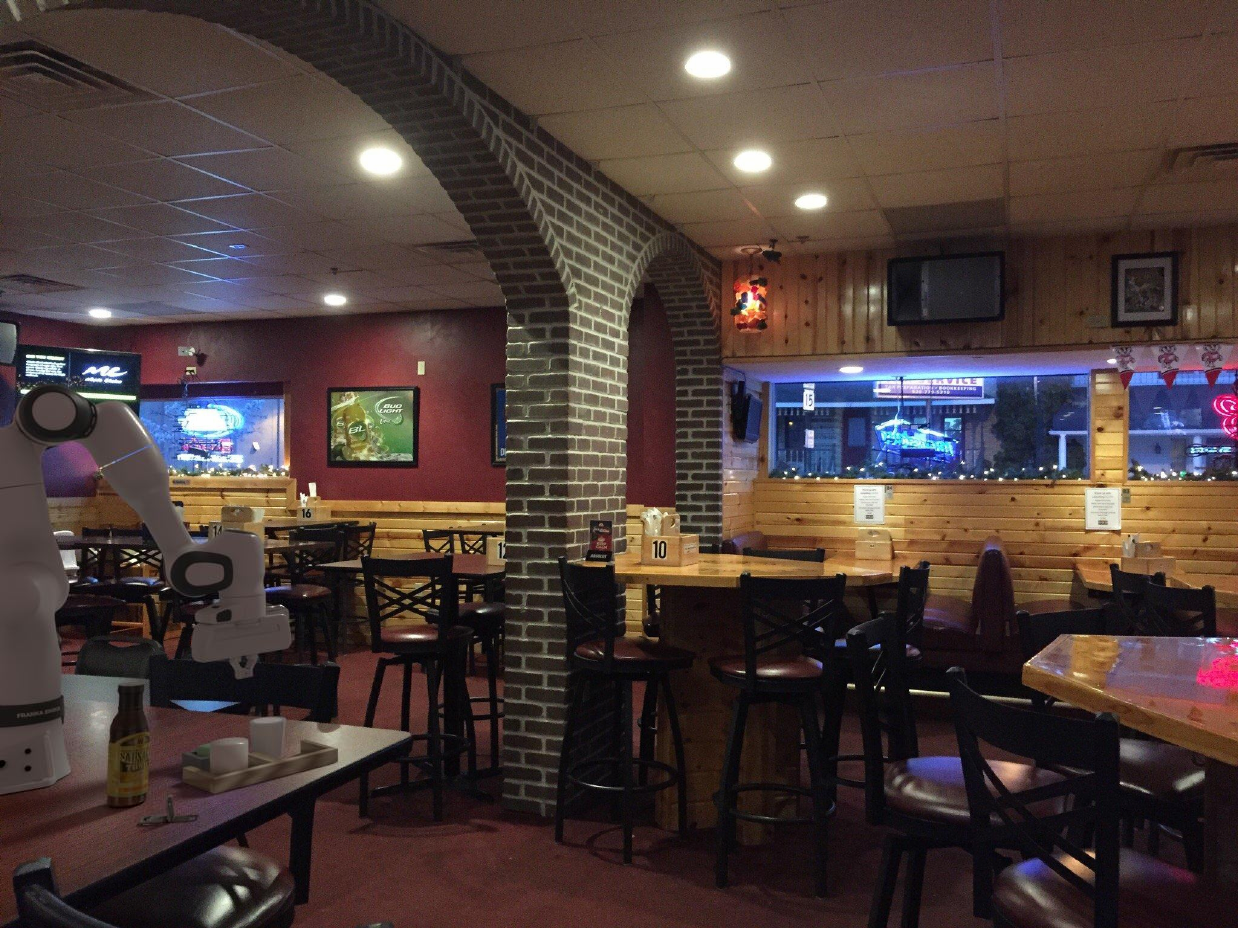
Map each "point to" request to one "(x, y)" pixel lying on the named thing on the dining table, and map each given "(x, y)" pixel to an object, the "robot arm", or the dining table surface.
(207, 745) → the button
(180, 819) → the strap clip
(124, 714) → the sauce bottle
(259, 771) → the frame
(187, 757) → the button box
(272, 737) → the white tapered cup
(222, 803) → the dining table surface
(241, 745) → the white cylinder puck
